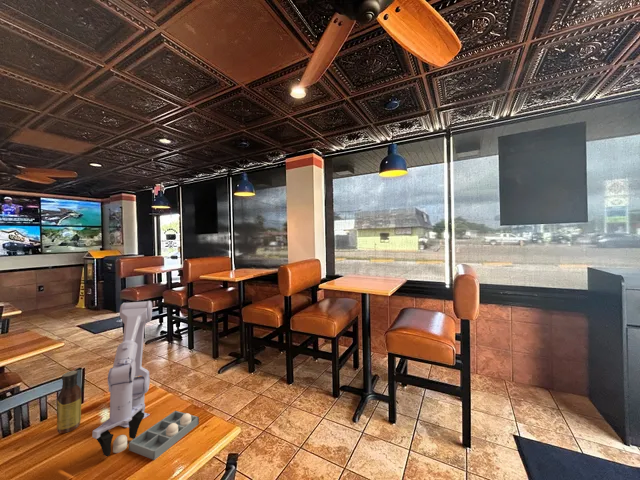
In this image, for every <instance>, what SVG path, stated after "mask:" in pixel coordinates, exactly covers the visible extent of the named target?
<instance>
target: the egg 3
mask: <svg viewBox="0 0 640 480" xmlns="http://www.w3.org/2000/svg"><path fill="white" fill-rule="evenodd" d="M185 413H186V414H184V415H183V416H182V417H181V419H180V425H181V426H187V425H188V424H189V423H190V422H191V415H192V414H190V413H187V412H185Z"/></svg>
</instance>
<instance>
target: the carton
mask: <svg viewBox="0 0 640 480" xmlns="http://www.w3.org/2000/svg"><path fill="white" fill-rule="evenodd" d="M186 413H187V412H182V411H177V410H173V412H171V413H170V414H168V415H167V416H166V417H164V418H163V419H161V420H159V421H158V422H157V423H155V424H154V425H152V426H151V427H149V428H147V429H146V430H145V431H143V432H142V433H141V434H139V435H136V437H135V438H134V439H132V440H130V441H128V451H130V452H132V453H135V454H137V455H139V456H143V457H145V458H147V459H150V460H153V461H156V460H157V459H158V458H159V457H160V456H162V454H164V453H165V452H166V451H168V450H169V449H170V448H171V447H172V446H174V445H175V444H176V443H177V442H178V441H180V440H182V438H184V437H185V436H186V435H187V434H188V433H189V432H191V431H192V430H194V429H195V428H196V427H197V426H198V425H200V424H199V421H200V417H199V416H196V415H193V414H190V415H191V422H190V423H189V424H188V425H187V426H181V425H180V419H181V417H182V416H183V415H184V414H186ZM172 423H176V424H177V425H178V433H176V434H175V435H174V436H173V437H168V436H166V429H167V427H168V426H169V425H170V424H172Z"/></svg>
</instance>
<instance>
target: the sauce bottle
mask: <svg viewBox="0 0 640 480" xmlns="http://www.w3.org/2000/svg"><path fill="white" fill-rule="evenodd" d="M61 380H62V385H61V387H62V388H61V389H60V392H59V393H58V396H57V399H56V430H57V433H58V434H64V433H68V432H72V431H74V430H75V429H77V428H78V427H80V425H81V420H82V389H81V387H80V386H79V384H78V370H72V371H68V372H64V373H63V374H62V376H61Z"/></svg>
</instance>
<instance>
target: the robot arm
mask: <svg viewBox="0 0 640 480" xmlns="http://www.w3.org/2000/svg"><path fill="white" fill-rule="evenodd" d="M119 317H120V320H121V322H122V323H123V324H124V328H123V335H122V337H123V338H122V342H120V344H118V345H117V348H116V353H115V357H114V360H113V365H112V367H110V369H109V371H108V373H107V385H108V392H109V418H108V419H107V420H106V421H104V422H103V423H102V424H101V425H99V426H98V427H97V428H95V429H93V430H92V439H95V440H96V441H97V442H98V444H99V445H100V447H101V450H102V454H103V456H105V457H109V456H110V455H111V452H112V442H113V437H114V434H113V433H111V431H110V430H111V429H113V428H116V427H118V426H119V427H122V428H124V429H125V428H128V436H129V439H132V440H133V439H134V438H136V437H137V434H138V430H139V427H140V425H141V422H142V421H143V419H146V418H148V417H149V416H150V415H151V414H150V413H147V412H145V410H146V403H145V394H147V392H148V391H149V389H150V383H151V382H150V381H151V379H150V370H148V369H147V368H145V367H143V366H142V365H143V364H142V363H143V352H144V339H145V327H146V325H147V323H149V322H151V321H152V319H153V318H152V317H153V301H152V300H147V301H133V302H123V303H122V304H120V306H119ZM135 376H138V377H135Z"/></svg>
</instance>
